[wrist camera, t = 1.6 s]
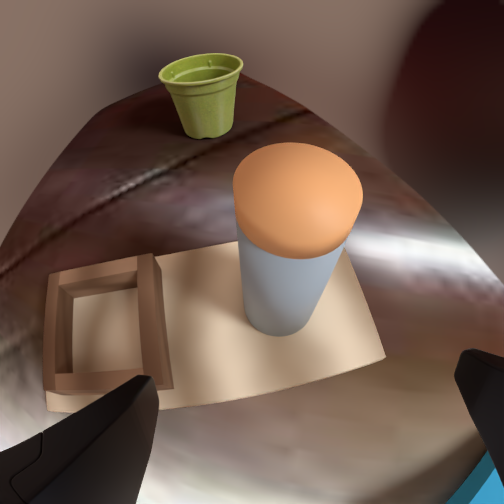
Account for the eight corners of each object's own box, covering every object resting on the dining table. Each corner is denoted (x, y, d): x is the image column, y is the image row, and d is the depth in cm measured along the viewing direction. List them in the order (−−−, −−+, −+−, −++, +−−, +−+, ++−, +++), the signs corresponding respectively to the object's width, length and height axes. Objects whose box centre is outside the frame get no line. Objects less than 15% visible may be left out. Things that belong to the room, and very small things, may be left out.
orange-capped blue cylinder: (316, 334, 20) (377, 235, 10) (244, 337, 20) (231, 237, 10) (309, 271, 22) (346, 144, 12) (243, 273, 22) (234, 143, 12)
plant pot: (157, 133, 35) (142, 75, 27) (209, 102, 38) (203, 49, 31) (206, 159, 31) (195, 90, 24) (260, 122, 35) (260, 61, 28)
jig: (331, 230, 26) (340, 204, 23) (380, 360, 19) (400, 348, 17) (56, 283, 23) (36, 264, 20) (54, 411, 17) (27, 406, 14)
